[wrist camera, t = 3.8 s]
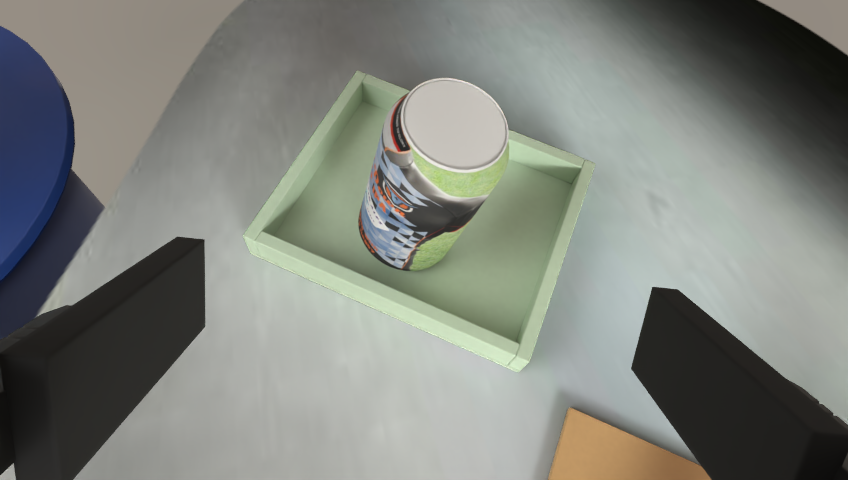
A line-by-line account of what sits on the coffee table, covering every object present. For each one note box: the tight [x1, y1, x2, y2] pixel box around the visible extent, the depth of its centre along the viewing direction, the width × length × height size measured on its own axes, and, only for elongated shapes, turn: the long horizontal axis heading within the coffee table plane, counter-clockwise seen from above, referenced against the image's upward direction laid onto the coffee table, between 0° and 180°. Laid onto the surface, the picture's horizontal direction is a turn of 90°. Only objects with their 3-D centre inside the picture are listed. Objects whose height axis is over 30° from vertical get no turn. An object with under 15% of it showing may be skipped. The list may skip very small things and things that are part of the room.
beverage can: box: [358, 78, 509, 271], centre depth 28 cm, size 6×7×12 cm
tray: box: [243, 71, 595, 373], centre depth 33 cm, size 18×15×2 cm
